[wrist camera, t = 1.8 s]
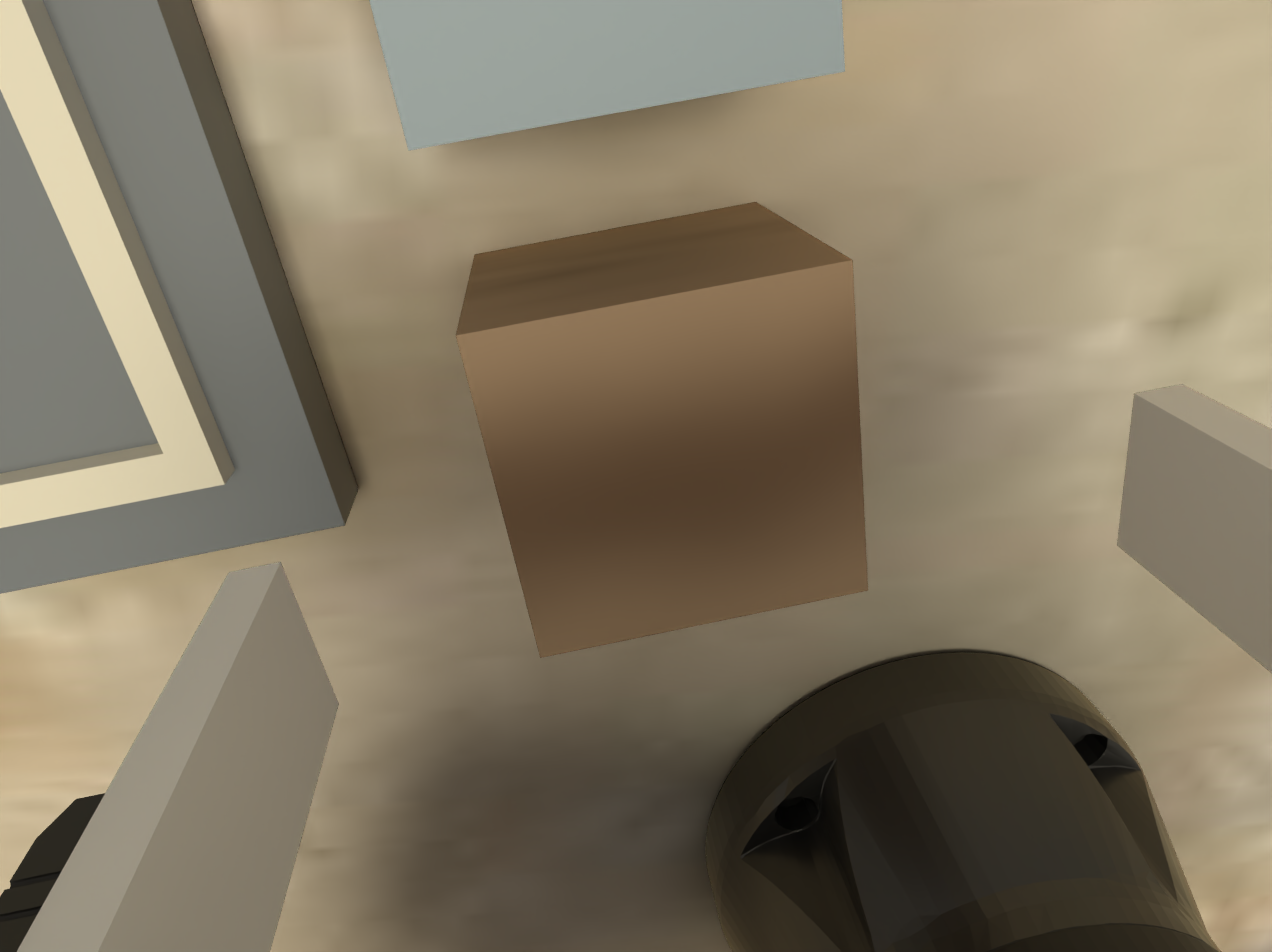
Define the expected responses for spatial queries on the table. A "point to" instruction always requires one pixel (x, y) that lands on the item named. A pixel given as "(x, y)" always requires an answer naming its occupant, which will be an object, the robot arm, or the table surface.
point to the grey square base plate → (142, 309)
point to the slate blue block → (588, 57)
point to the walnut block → (670, 422)
